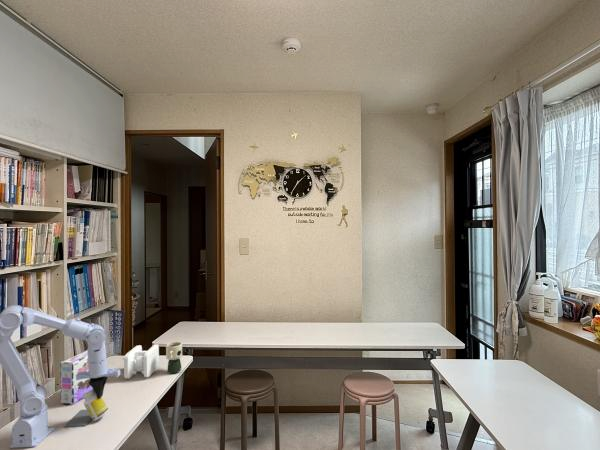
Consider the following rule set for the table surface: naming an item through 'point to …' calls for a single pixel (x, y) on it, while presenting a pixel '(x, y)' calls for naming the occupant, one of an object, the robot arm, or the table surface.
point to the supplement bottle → (94, 405)
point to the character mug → (174, 356)
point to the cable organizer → (141, 361)
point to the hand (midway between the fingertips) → (99, 397)
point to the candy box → (74, 379)
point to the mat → (79, 419)
